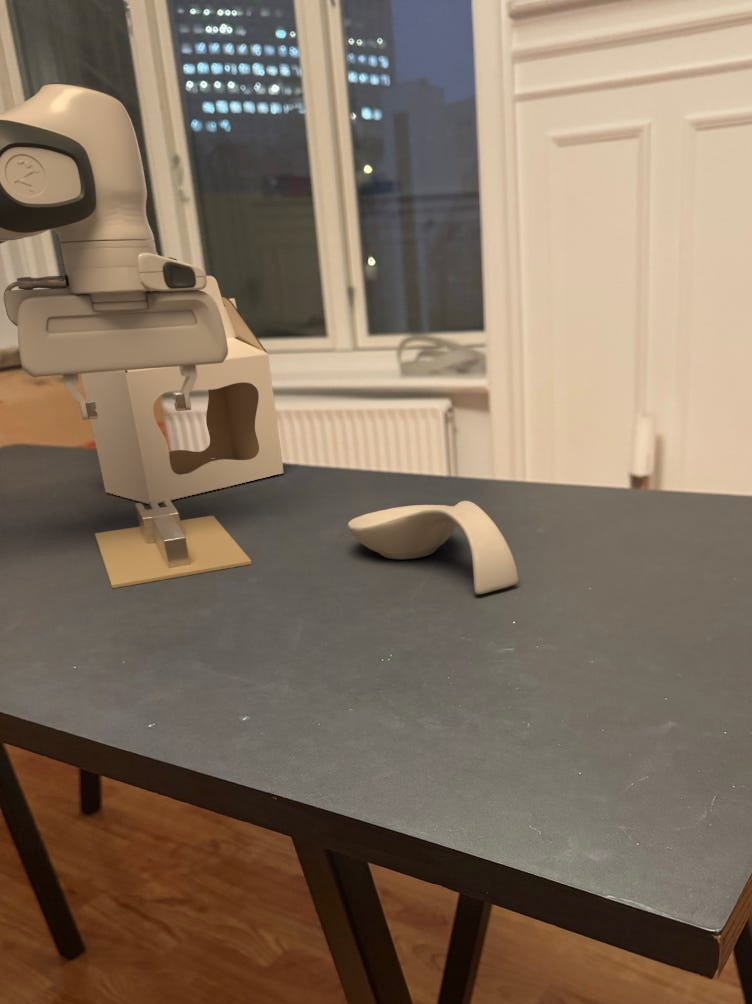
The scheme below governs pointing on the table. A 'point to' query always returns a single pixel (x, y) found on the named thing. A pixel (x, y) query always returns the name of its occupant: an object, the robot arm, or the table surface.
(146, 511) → the fork
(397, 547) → the spoon rest
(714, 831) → the table surface
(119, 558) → the place mat
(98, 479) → the table surface
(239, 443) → the gable box
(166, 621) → the table surface
